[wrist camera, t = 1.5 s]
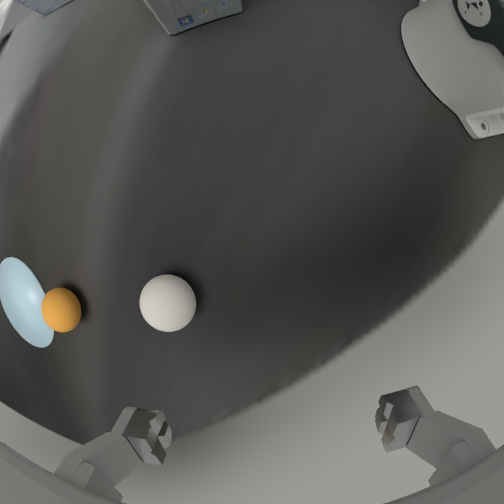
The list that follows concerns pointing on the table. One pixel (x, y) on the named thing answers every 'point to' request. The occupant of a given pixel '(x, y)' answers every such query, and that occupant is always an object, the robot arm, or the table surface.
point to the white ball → (167, 303)
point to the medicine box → (43, 5)
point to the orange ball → (61, 309)
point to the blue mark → (24, 302)
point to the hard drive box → (190, 12)
